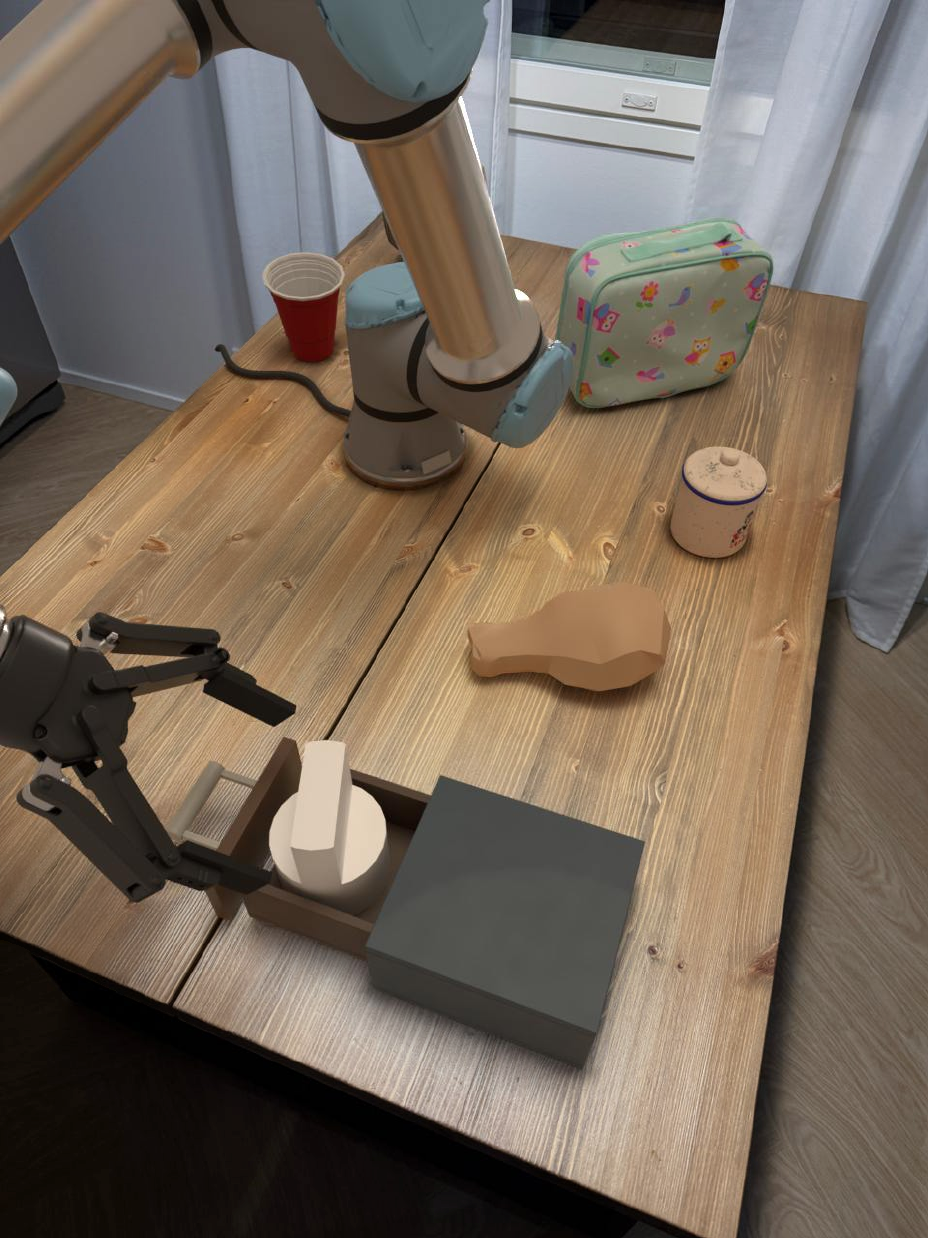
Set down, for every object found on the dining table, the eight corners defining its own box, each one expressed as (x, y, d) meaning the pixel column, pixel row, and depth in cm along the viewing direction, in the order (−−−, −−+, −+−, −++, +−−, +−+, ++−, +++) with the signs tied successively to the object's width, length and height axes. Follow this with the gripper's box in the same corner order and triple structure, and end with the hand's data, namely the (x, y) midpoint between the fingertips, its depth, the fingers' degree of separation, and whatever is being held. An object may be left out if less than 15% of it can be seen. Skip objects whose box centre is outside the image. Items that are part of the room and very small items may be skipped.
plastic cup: (290, 381, 122) (278, 300, 113) (264, 342, 128) (250, 262, 119) (364, 361, 125) (357, 280, 116) (335, 324, 131) (326, 245, 122)
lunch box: (712, 344, 129) (750, 193, 113) (751, 382, 123) (797, 229, 106) (544, 379, 123) (558, 226, 106) (576, 422, 116) (596, 266, 100)
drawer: (154, 892, 73) (131, 854, 68) (237, 759, 81) (222, 716, 76) (395, 985, 68) (390, 951, 63) (457, 833, 76) (457, 793, 71)
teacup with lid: (743, 568, 99) (771, 488, 90) (661, 550, 101) (681, 470, 92) (753, 500, 107) (780, 420, 98) (677, 484, 108) (697, 404, 100)
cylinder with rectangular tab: (386, 921, 70) (376, 851, 61) (272, 919, 70) (245, 849, 61) (393, 818, 76) (385, 741, 67) (288, 817, 76) (266, 739, 67)
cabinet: (372, 989, 69) (364, 946, 62) (441, 826, 78) (440, 774, 71) (582, 1070, 65) (596, 1033, 59) (628, 890, 74) (645, 841, 68)
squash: (678, 701, 87) (687, 658, 80) (475, 721, 89) (466, 680, 81) (659, 607, 93) (666, 559, 85) (469, 627, 94) (459, 581, 87)
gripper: (-78, 838, 43) (282, 954, 54) (71, 492, 59) (323, 638, 70) (-134, 885, 47) (212, 984, 58) (20, 549, 63) (266, 678, 74)
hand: (273, 794), depth 64 cm, fingers open, 13 cm apart
